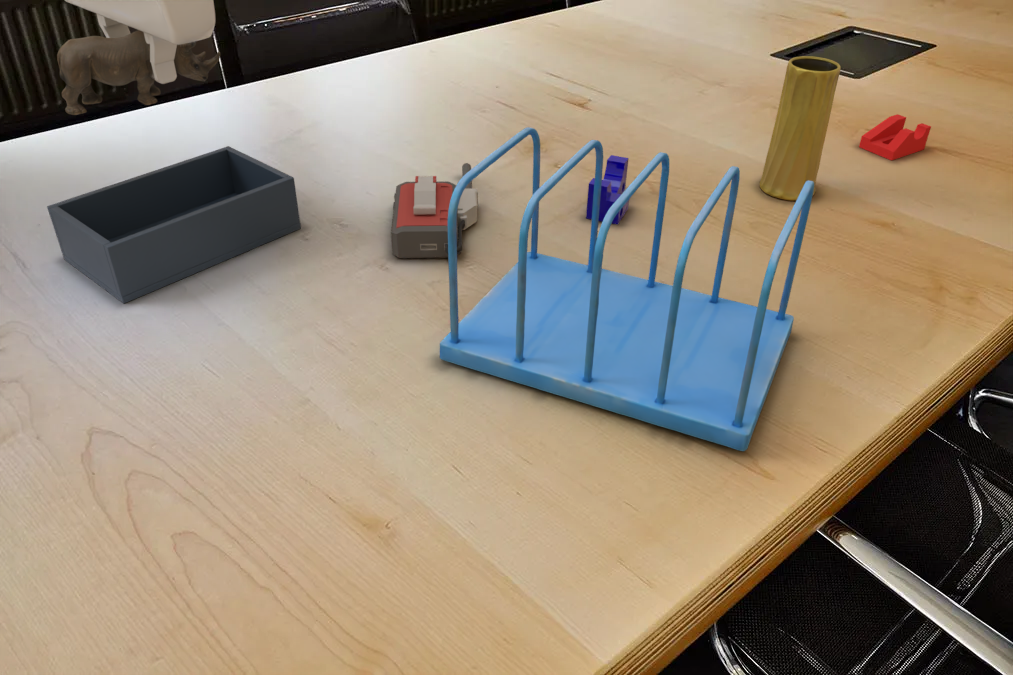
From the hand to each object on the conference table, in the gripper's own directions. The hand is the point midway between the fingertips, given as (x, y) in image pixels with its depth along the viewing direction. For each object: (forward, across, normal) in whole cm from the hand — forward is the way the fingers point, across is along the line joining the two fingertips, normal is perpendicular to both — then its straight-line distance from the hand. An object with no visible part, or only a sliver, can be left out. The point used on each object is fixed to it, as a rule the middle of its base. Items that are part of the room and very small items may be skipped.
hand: (147, 73), depth 75 cm
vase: (+17, +38, +53) cm, 68 cm away
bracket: (+17, +42, +73) cm, 86 cm away
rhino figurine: (+2, 0, 0) cm, 2 cm away
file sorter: (+17, +42, +15) cm, 48 cm away
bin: (+17, 0, 0) cm, 17 cm away
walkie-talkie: (+17, +14, +21) cm, 31 cm away
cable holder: (+17, +26, +36) cm, 48 cm away
